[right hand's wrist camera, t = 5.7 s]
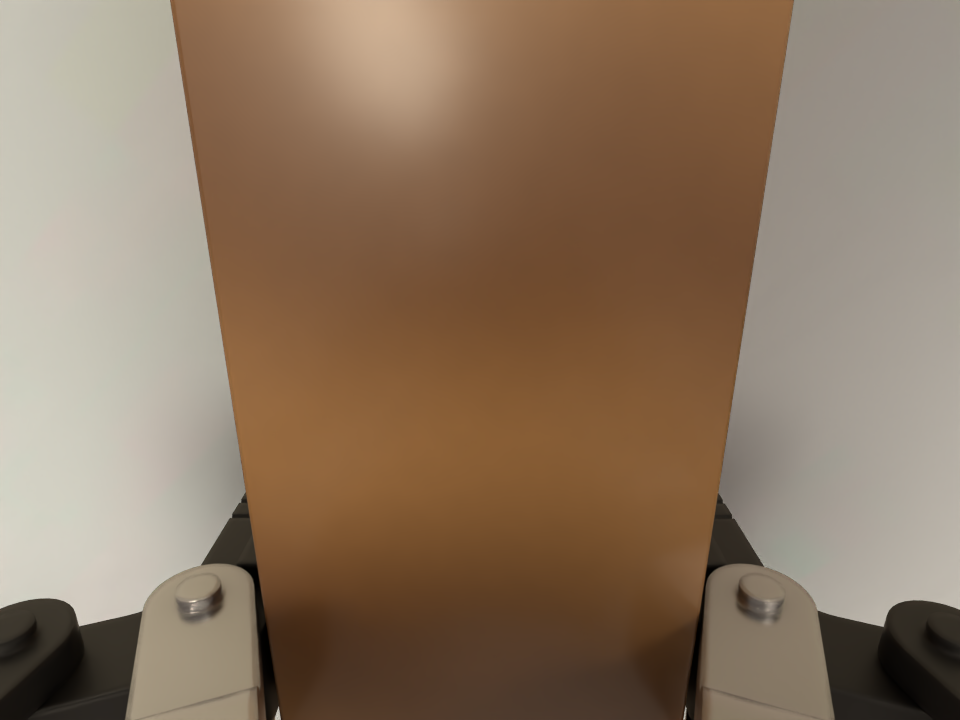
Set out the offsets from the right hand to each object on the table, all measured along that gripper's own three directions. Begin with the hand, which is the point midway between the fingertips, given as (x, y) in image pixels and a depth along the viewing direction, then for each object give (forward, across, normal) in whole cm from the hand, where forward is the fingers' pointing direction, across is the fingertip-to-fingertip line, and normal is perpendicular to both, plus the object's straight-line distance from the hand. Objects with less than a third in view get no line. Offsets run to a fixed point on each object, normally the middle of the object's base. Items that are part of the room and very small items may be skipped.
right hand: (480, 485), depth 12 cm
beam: (+3, 0, -29) cm, 29 cm away
